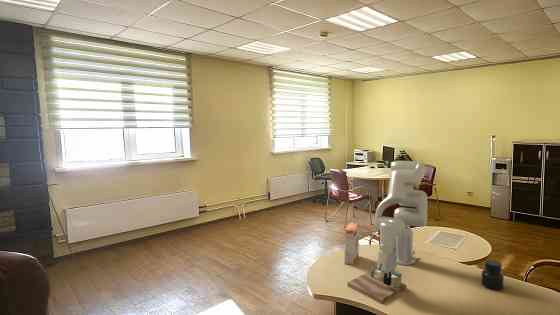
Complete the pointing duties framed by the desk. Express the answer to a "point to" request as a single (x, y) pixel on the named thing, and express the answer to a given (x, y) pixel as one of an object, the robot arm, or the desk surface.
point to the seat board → (376, 287)
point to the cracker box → (351, 243)
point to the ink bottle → (492, 275)
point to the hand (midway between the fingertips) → (387, 284)
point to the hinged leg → (376, 274)
